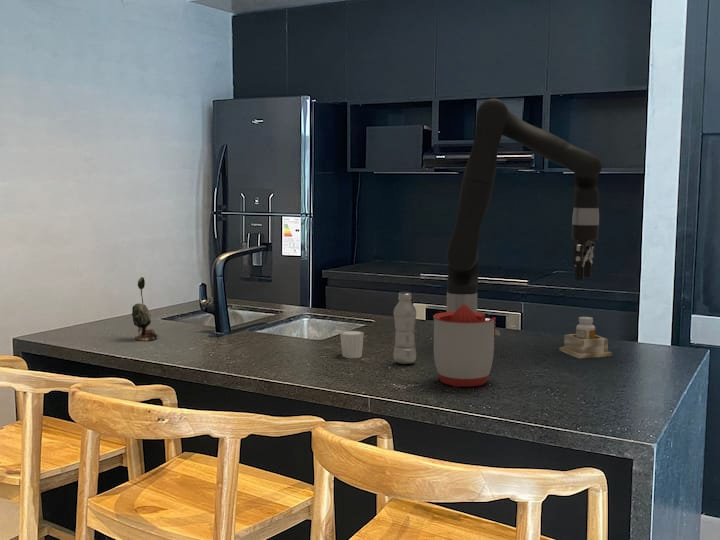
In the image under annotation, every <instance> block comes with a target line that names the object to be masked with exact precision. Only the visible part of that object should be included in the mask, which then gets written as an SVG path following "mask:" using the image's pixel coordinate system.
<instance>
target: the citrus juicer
mask: <svg viewBox="0 0 720 540" xmlns="http://www.w3.org/2000/svg"><path fill="white" fill-rule="evenodd" d="M432 317H433V358H434V364H435V367H436V372H437V376H438V378H439V381H440V382H441V383H442V384H445V385H447V386H452V387H453V388H461V387H477V386H483V385H484V384H486V383H487V381H488V380H489V376H490V375H491V374H490V372H491V369H492V366H493V365H492V364H493V362H494V361H493V360H494V350H495V338H496V336H501V332H500V331H499V330H498V329H496V321H497V320H496V317H495V316H494V317H492V318H489V319H488V320H486V313H483V312H478V311H477V312H472V310H471V309H470V308H469V307H468V306H467V305H465V304H464V305H462V306H461V307H459V308H458V309H457V311H456V312H447V311H443V312H439V313H438V312H437V313H435V314H434V315H433V316H432Z"/></svg>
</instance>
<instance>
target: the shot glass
mask: <svg viewBox="0 0 720 540" xmlns="http://www.w3.org/2000/svg"><path fill="white" fill-rule="evenodd" d="M339 334H340V343H341V344H340V346H341V354H342V357H343V358H344V357H345V359H359V358H361V357H362V355H363V343H364V332H363V331H360V330H346V331H345V330H343V331H341V332H339Z"/></svg>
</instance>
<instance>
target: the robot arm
mask: <svg viewBox="0 0 720 540" xmlns="http://www.w3.org/2000/svg"><path fill="white" fill-rule="evenodd" d="M475 121H476V122H475V131H474V139H473V144H472V148H471V150H470V154H469V157H468V160H467V163H466V165H465V169H464V173H463V176H462V181H461V186H460V192H459V198H458V203H457V212H456V213H457V214H456V222H455V227H454V230H453V233H452V237H451V239H450V242H449V245H448V248H447V251H446V254H445V255H446V260H447V282H446V312H456V311H457V309H458V308H459V307H461V306H462V305H464V304H465V305H467V306H468V307H469V308H470V309H471V310H472V312H478V286H479V263H480V262H479V260H480V258H479V249H478V244H479V240H480V239H479V237H480V230H481V227H482V224H483V221H484V218H485V215H486V213H487V210H488V208H489V204H490V201H491V198H492V193H493V189H494V184H495V179H496V172H497V162H498V161H497V160H498V153H499V152H498V151H499V146H500V143H501V140H502V136H503V137H506V138H508V139H510V140H511V141H515V142H516V143H519V144H521V145H523V146H524V147H526V148H527V149H529V150H531V151H532V152H534V153H536V154H538V155H539V156H541V157H543V158H544V159H546V160H548V161H550V162H552V163H554V164H556V165H559V166H562V167H564V168H566V169H568V170H570V171H571V172H573V176H574V178H573V179H574V180H573V181H574V195H573V196H574V197H573V209H572V210H573V211H572V219H571V222H572V223H571V224H572V225H571V239H572V240H576V241H578V242H577V244H573V258H572V265H574V267H575V273H574V274H575V275H574V276H575V277H574V279H575V280H579V281H583V280H584V278H591V277H592V265H593V263H594V261H595V247H596V246H595V241H597V240H598V239H599V231H600V230H599V227H600V211H599V210H600V209H599V207H600V204H599V203H600V191H599V189H598V186H599V185H598V183H599V182H598V181H599V175H600V173H602V169H603V164H602V161H601V160H600V158H599V157H598V156H596V155H595V154H593V153H591V152H589V151H587V150H584V149H582V148H579V147H577V146H575V145H573V144H572V143H570V142H568V141H566V140H565V139H563V138H561V137H559V136H557V135H555V134H553V133H551V132H549V131H547V130H545V129H542V128H540V127H538V126H535V125H532V124H530V123H528V122H526V121H525V120H522V119H521V118H519V117H518V116H516V115H515V114H514V113H512V112H511V111H509V109H508V107H507V105H506V104H505V102H504V101H502V100H500V99H498V98H489V99H486V100H484V101H483V102H481V104H480V105H479V106H478V108H477V111H476V120H475Z"/></svg>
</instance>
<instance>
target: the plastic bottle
mask: <svg viewBox="0 0 720 540" xmlns="http://www.w3.org/2000/svg"><path fill="white" fill-rule="evenodd" d="M412 295H413V294H412V292H409V291H399V292H398V298H397V299H398V302H397V304H396V305H395V307H394V309H393V317H394V318H393V319H394V326H395V327H394V328H395V329H394V330H395V339H394V347H393V354H392V355H393V360H394V362H396V364H400V365H401V364H402V365H408V364H414V363H415V361H416V359H417V350H416V342H415V327H416V319H417V310H416V307H415V305H414V303H413V302H412V299H413V297H412Z"/></svg>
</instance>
